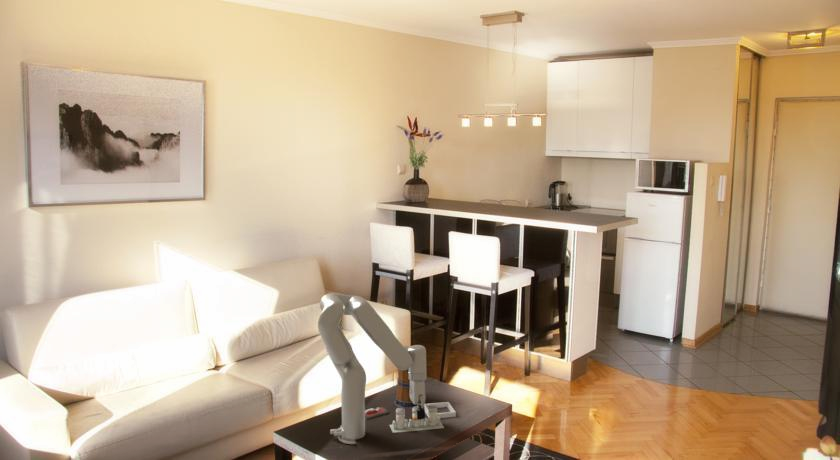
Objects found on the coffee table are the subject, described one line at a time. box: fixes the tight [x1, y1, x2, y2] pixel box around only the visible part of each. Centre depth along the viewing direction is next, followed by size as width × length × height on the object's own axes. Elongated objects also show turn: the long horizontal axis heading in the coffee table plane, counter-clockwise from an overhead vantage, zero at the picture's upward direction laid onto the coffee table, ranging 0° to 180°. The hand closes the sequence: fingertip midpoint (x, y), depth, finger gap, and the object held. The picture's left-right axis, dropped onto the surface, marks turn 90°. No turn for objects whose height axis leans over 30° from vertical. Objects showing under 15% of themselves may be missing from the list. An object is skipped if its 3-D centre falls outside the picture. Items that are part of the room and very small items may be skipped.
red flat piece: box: [365, 406, 389, 420], centre depth 291 cm, size 9×4×20 cm
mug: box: [393, 369, 426, 409], centre depth 311 cm, size 19×14×20 cm
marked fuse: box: [411, 406, 421, 428], centre depth 280 cm, size 4×4×8 cm
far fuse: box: [428, 405, 438, 427], centre depth 281 cm, size 4×4×8 cm
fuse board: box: [389, 417, 445, 434], centre depth 280 cm, size 22×8×4 cm, turn 103°
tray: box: [424, 401, 457, 419], centre depth 295 cm, size 12×12×4 cm
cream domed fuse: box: [395, 407, 406, 430], centre depth 278 cm, size 4×4×8 cm
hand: (418, 414), depth 280 cm, fingers open, 9 cm apart
